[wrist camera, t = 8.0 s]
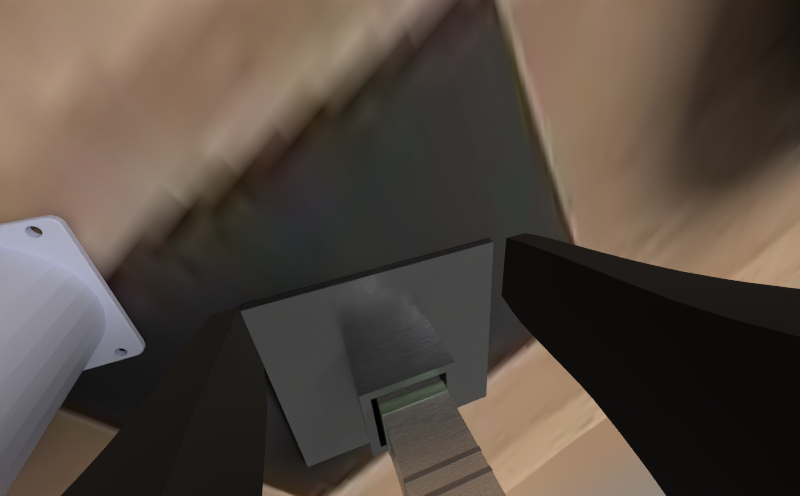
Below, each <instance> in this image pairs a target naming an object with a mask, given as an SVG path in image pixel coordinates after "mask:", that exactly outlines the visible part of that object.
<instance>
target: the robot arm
mask: <svg viewBox="0 0 800 496" xmlns="http://www.w3.org/2000/svg"><path fill="white" fill-rule="evenodd" d="M31 226H35V227H38V228H39V229H40V230H42V233H43V234H38V233H35V232H34V231H33V230H32V229H31ZM502 297H503V298H504V300H505V301H506V303H507V304H508V305H509V307H510V308H511V310H512V311H513V312H514V314H515V315H516V316H517V318H518V319H519V320H520V322H521V323H522V324H523V325H524V326H525V327H526V328H527V330H528V331H529V332H530V333H531V334H532V335H533V336H534V337H535V338H536V339H537V340H538V341H539V342H540V343H541V344H542V345H543V346H544V347H545V348H546V350H547V351H548V352H549V353H550V354H551V355H552V356H553V357H554V358H555V359H556V360H557V361H558V362H559V363H560V364H561V365H562V366H563V367H564V368H565V369H566V370H567V371H568V372H569V373H570V374H571V375H572V376H573V377H574V379H575V380H576V381H577V382H578V383H579V384H580V385H581V386H582V387H583V388H584V389H585V390H586V392H587V393H588V394H589V395H590V396H591V397H592V398H593V399H594V401H595V402H596V403H597V404H598V406H599V407H600V408H601V409H602V411H603V412H604V413H605V414H606V416H607V417H608V418H609V419H610V421H611V422H612V423H613V424H614V426H615V427H616V428H617V429H618V431H619V432H620V433H621V435H622V436H623V437H624V439H625V440H626V441H627V443H628V444H629V445H630V447H631V448H632V449H633V451H634V452H635V453H636V455H637V456H638V457H639V458H640V460H641V461H642V463H643V464H644V465H645V467H646V468H647V469H648V471H649V472H650V473H651V475H652V476H653V478H654V479H655V480H656V482H657V483H658V485H659V486H660V487H661V489H662V490H663V492H664V493H665V495H666V496H800V289H796V288H787V287H780V286H772V285H764V284H756V283H748V282H741V281H734V280H728V279H721V278H716V277H710V276H705V275H699V274H693V273H688V272H682V271H677V270H673V269H668V268H663V267H659V266H654V265H650V264H646V263H642V262H637V261H633V260H629V259H625V258H621V257H617V256H613V255H609V254H606V253H602V252H598V251H594V250H591V249H587V248H583V247H580V246H576V245H572V244H569V243H565V242H561V241H558V240H554V239H550V238H546V237H541V236H537V235H531V234H525V233H524V234H520V235H517V236H513V237H509V238H506V248H505V261H504V273H503V285H502ZM119 348H122V349H125V350H126V351H121V350H119ZM144 348H145V342H144V340H143V339H142V337H141V335H140V334H139V332H138V331H137V329H136V328H135V326H134V325H133V323H132V322H131V320H130V319H129V317H128V316H127V314H126V313H125V311H124V310H123V308H122V307H121V305H120V304H119V302H118V301H117V299H116V297H115V296H114V294H113V293H112V291H111V290H110V288H109V287H108V285H107V284H106V282H105V281H104V279H103V278H102V276H101V275H100V273H99V272H98V270H97V269H96V267H95V266H94V264H93V263H92V261H91V259H90V258H89V256H88V255H87V253H86V252H85V250H84V249H83V247H82V246H81V244H80V243H79V241H78V240H77V238H76V237H75V235H74V234H73V232H72V231H71V229H70V228H69V226H68V225H67V223H66V222H65V221H64V220H63V219H61V218H59V217H57V216H53V215H44V216H39V217H33V218H28V219H22V220H17V221H11V222H6V223H1V224H0V496H6V494H7V492H8V491H9V489H10V487H11V486H12V484H13V483H14V481H15V479H16V478H17V476H18V474H19V473H20V471H21V470H22V468H23V466H24V465H25V463H26V462H27V460H28V458H29V457H30V455H31V453H32V452H33V450H34V449H35V447H36V445H37V444H38V442H39V440H40V439H41V437H42V436H43V434H44V432H45V431H46V429H47V428H48V426H49V424H50V423H51V421H52V419H53V418H54V416H55V415H56V413H57V411H58V410H59V408H60V406H61V405H62V403H63V402H64V400H65V398H66V397H67V395H68V394H69V392H70V390H71V389H72V387H73V385H74V384H75V382H76V381H77V379H78V377H79V376H80V374H81V372H82V371H84V370H87V369H91V368H94V367H98V366H101V365H105V364H108V363H112V362H115V361H119V360H122V359H126V358H129V357H133V356H136V355H139V354H141V353H142V352H143V350H144ZM266 418H267V401H266V385H265V372H264V367H263V364H262V362H261V359H260V357H259V355H258V352H257V350H256V347H255V345H254V343H253V340H252V338H251V335H250V333H249V331H248V328H247V326H246V323H245V321H244V319H243V316H242V314H241V311H240V309H239V308H236V309H232V310H228V311H224V312H220V313H216V314H213V315H210V317H209V318H208V319H207V320H206V322H205V323H204V324H203V326H202V327H201V328H200V330H199V331H198V332H197V334H196V335H195V336H194V338H193V339H192V340H191V342H190V343H189V344H188V346H187V347H186V348H185V350H184V351H183V352H182V354H181V355H180V356H179V358H178V359H177V360H176V362H175V363H174V364H173V366H172V367H171V368H170V369H169V371H168V372H167V373H166V375H165V376H164V377H163V379H162V380H161V381H160V382H159V384H158V385H157V386H156V388H155V389H154V390H153V391H152V393H151V394H150V395H149V396H148V397H147V399H146V400H145V401H144V402H143V403H142V405H141V406H140V407H139V408H138V409H137V411H136V412H135V413H134V414H133V415H132V416H131V418H130V419H129V420H128V421H127V422H126V424H125V425H124V426H123V427H122V428H121V430H120V431H119V432H118V433H117V434H116V436H115V437H114V438H113V439H112V440H111V442H110V443H109V444H108V445H107V446H106V447H105V448H104V450H103V451H102V452H101V453H100V454H99V455H98V456H97V457H96V459H95V460H94V461H93V462H92V463H91V464H90V465H89V466H88V467H87V468H86V469H85V471H84V472H83V473H82V474H81V475H80V476H79V477H78V478H77V479H76V480H75V481H74V482H73V483H72V485H71V486H70V487H69V488H68V489H67V490H66V491H65V492H64V493H63V494H62V495H61V496H262V487H263V470H264V454H265V436H266Z"/></svg>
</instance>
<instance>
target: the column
mask: <svg viewBox="0 0 800 496" xmlns="http://www.w3.org/2000/svg"><path fill="white" fill-rule="evenodd" d="M376 401H377V406H378V411H379V416H380V420H381V425H382V430H383V433H384V436H385V440H386V445H387V448H388V451H389V454H390V456H391V458H392V461H393V464H394V468H395V471H396V474H397V477H398V480H399V483H400V486H401V490H402V493H403V496H506V495H505V493H504V492H503V490H502V488H501V486H500V484H499V483H498V481H497V479H496V477H495V475H494V474H493V470H492V468H491V467H490V466H489V465H488V463H487V461H486V459H485V458H484V456H483V454H482V452H481V449H480V447H479V446H478V445H477V443H476V441H475V440H474V438H473V436H472V434H471V432H470V431H469V429H468V427H467V425H466V423H465V422H464V420H463V418H462V416H461V415H460V413H459V411H458V409H457V407H456V406H455V404H454V402H453V400H452V398H451V397H450V395H449V393H448V389H447V388H446V386H445V384H444V382H443V381H442V380H441V379H440V377H439V375H437V376H434V377H431V378H429V379H426V380H423V381H420V382H418V383H415V384H412V385H410V386H407V387H404V388H401V389H399V390H396V391H393V392H391V393H388V394H385V395H382V396H380V397H377V398H376Z"/></svg>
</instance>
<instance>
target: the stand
mask: <svg viewBox="0 0 800 496" xmlns="http://www.w3.org/2000/svg"><path fill="white" fill-rule="evenodd" d="M492 262H493V241H492V240H490V239H489V238H487V239H483V240H480V241H476V242H472V243H468V244H465V245H461V246H457V247H454V248H450V249H446V250H443V251H439V252H435V253H431V254H428V255H424V256H420V257H417V258H413V259H409V260H405V261H402V262H398V263H394V264H391V265H387V266H383V267H380V268H376V269H372V270H368V271H365V272H361V273H357V274H354V275H350V276H346V277H342V278H339V279H335V280H331V281H328V282H324V283H320V284H317V285H313V286H309V287H305V288H302V289H298V290H294V291H291V292H287V293H283V294H279V295H276V296H272V297H268V298H265V299H261V300H257V301H254V302H250V303H246V304H242V305H241V309H240V311H241V314H242V316H243V319H244V321H245V323H246V326H247V328H248V330H249V333H250V335H251V337H252V340H253V342H254V344H255V346H256V349H257V351H258V353H259V356H260V358H261V360H262V363H263V365H264V367H265V369H266V372H267V374H268V376H269V379H270V381H271V383H272V386H273V388H274V390H275V393H276V395H277V397H278V399H279V402H280V404H281V406H282V409H283V411H284V413H285V416H286V418H287V420H288V422H289V425H290V427H291V429H292V432H293V434H294V436H295V439H296V441H297V443H298V445H299V448H300V450H301V452H302V455H303V457H304V459H305V462H306V464H307V466H308V467H310V466H312V465H315V464H317V463H320V462H322V461H325V460H327V459H330V458H332V457H335V456H337V455H340V454H342V453H345V452H347V451H350V450H352V449H355V448H357V447H360V446H362V445H365V444H367V443H370V446H371V449H372V453H373V456H374V455H377V454H379V453H382V452H384V451H387V450H388V448H387V445H386V440H385V436H384V433H383V430H382V425H381V420H380V416H379V411H378V406H377V401H376V398H377V397H380V396H382V395H385V394H388V393H391V392H393V391H396V390H399V389H401V388H404V387H407V386H410V385H412V384H415V383H418V382H420V381H423V380H426V379H429V378H431V377H434V376H437V375H439V377H440V379H441V380H442V381H443V382H444V384H445V386H446V388H447V389H448V393H449V395H450V397H451V398H452V400H453V402H454V404H455V406H456V407H457V408H458V407H460V406H463V405H465V404H468V403H470V402H473V401H475V400H478V399H480V398H483V397H485V396H486V385H487V365H488V344H489V324H490V303H491V282H492Z"/></svg>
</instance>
